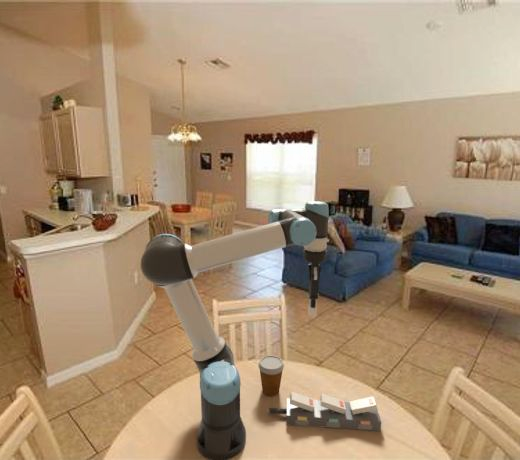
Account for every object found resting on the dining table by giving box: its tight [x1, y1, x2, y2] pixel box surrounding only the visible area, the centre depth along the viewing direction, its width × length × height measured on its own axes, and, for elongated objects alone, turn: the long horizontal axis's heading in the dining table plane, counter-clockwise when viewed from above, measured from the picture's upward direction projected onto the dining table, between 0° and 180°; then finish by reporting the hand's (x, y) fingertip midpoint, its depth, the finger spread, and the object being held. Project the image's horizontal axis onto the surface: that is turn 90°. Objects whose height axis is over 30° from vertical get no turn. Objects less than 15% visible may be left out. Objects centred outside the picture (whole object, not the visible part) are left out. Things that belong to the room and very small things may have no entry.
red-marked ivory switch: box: [289, 391, 315, 412], centre depth 114 cm, size 8×4×2 cm, turn 86°
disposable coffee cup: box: [257, 354, 285, 397], centre depth 127 cm, size 10×10×12 cm
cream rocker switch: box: [349, 396, 378, 415], centre depth 113 cm, size 8×4×2 cm, turn 85°
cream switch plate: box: [319, 392, 346, 414], centre depth 113 cm, size 8×4×2 cm, turn 86°
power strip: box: [268, 397, 382, 432], centre depth 114 cm, size 36×8×5 cm, turn 85°
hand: (312, 314), depth 118 cm, fingers closed
